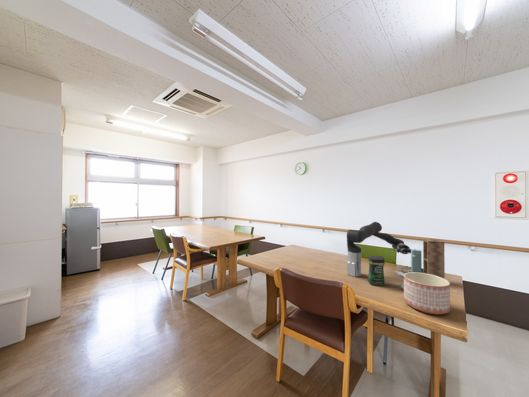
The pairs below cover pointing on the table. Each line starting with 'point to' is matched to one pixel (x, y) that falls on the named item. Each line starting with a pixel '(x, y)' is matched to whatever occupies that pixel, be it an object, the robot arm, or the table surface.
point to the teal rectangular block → (416, 261)
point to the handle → (401, 276)
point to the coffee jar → (376, 270)
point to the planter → (427, 293)
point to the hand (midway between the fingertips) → (409, 253)
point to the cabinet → (433, 258)
